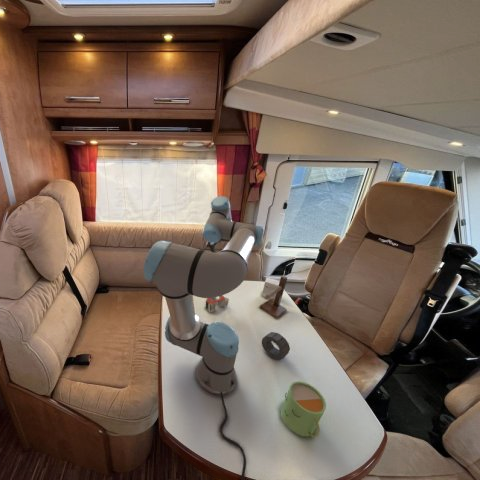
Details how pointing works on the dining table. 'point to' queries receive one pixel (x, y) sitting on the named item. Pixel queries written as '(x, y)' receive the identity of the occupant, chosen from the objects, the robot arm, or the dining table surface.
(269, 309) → the tape stand
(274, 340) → the tape roll
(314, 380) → the dining table surface
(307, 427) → the mug
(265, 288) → the small box
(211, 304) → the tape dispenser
